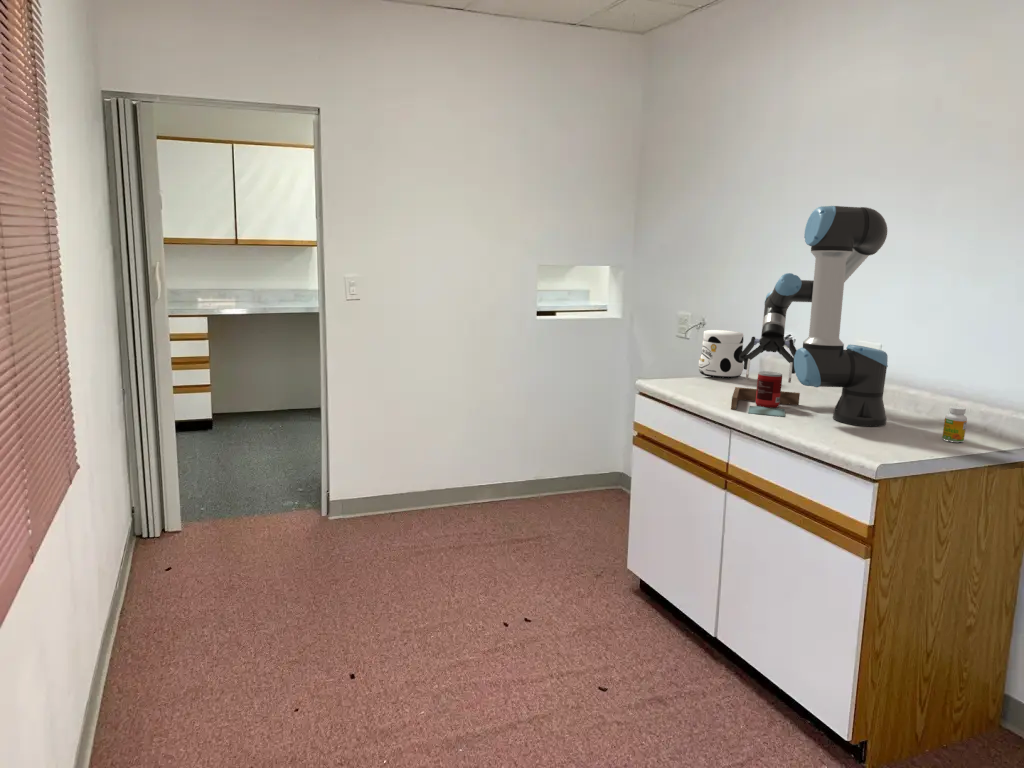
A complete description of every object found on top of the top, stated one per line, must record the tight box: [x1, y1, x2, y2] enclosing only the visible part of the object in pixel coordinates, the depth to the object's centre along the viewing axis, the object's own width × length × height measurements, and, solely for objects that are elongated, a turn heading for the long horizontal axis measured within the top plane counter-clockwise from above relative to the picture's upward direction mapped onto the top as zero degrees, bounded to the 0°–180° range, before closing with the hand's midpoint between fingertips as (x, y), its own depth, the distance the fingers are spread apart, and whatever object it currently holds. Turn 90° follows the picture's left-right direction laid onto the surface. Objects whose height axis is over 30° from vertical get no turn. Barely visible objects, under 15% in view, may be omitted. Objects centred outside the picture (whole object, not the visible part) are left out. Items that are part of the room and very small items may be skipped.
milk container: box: [698, 329, 744, 380], centre depth 304 cm, size 17×17×18 cm
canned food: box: [755, 370, 783, 408], centre depth 253 cm, size 8×8×11 cm
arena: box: [730, 386, 801, 418], centre depth 251 cm, size 21×22×4 cm
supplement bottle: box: [941, 405, 968, 443], centre depth 216 cm, size 5×5×10 cm
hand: (768, 378), depth 256 cm, fingers open, 13 cm apart
